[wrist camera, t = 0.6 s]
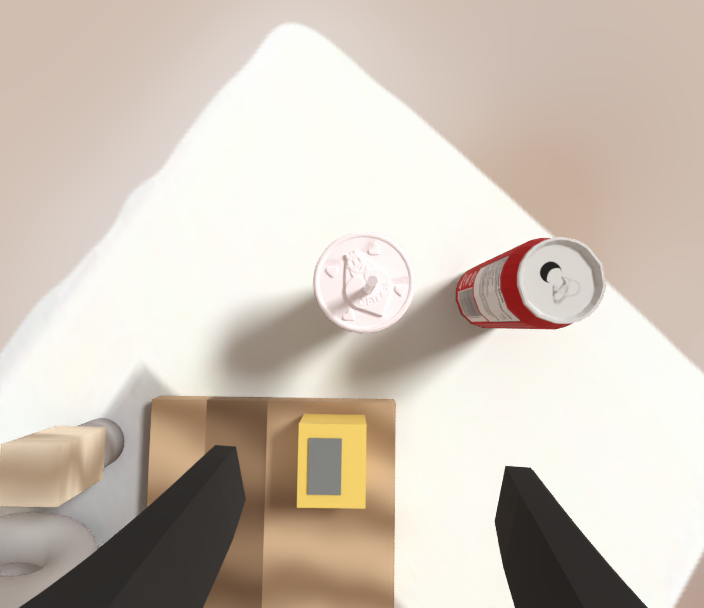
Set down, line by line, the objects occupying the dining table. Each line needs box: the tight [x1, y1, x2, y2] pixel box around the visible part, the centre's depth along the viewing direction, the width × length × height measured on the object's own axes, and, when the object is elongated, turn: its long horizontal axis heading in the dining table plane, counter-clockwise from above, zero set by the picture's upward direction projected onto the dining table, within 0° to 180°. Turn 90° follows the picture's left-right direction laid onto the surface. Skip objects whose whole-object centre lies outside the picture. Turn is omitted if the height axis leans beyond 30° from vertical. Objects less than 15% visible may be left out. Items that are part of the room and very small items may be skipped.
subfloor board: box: [147, 396, 396, 608], centre depth 30 cm, size 18×20×2 cm
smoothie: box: [313, 232, 415, 333], centre depth 25 cm, size 6×6×14 cm
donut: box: [0, 512, 98, 608], centre depth 26 cm, size 10×4×10 cm, turn 70°
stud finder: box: [297, 414, 367, 509], centre depth 28 cm, size 6×5×3 cm
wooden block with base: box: [0, 418, 124, 507], centre depth 28 cm, size 4×4×7 cm
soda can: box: [456, 237, 606, 329], centre depth 26 cm, size 6×6×12 cm
